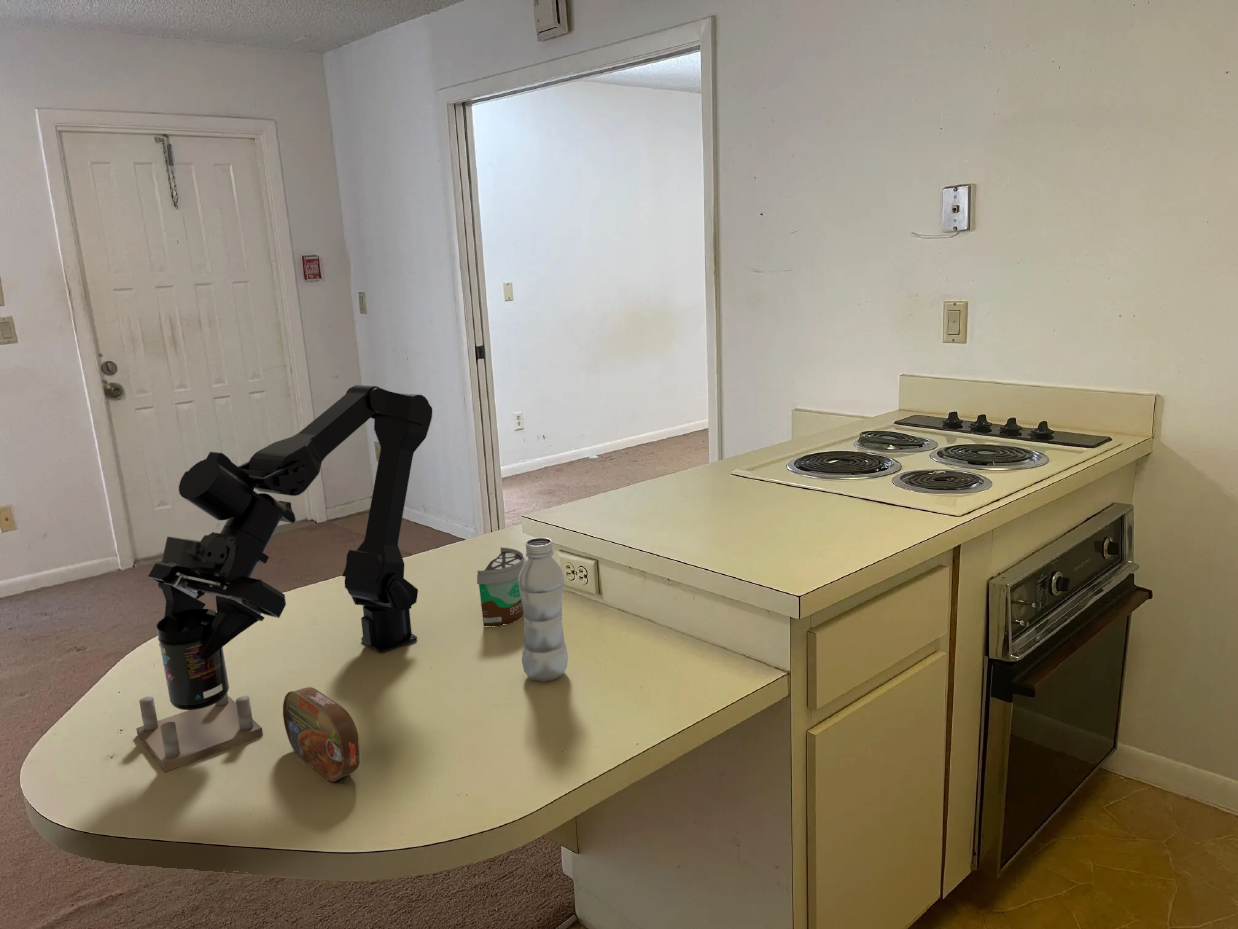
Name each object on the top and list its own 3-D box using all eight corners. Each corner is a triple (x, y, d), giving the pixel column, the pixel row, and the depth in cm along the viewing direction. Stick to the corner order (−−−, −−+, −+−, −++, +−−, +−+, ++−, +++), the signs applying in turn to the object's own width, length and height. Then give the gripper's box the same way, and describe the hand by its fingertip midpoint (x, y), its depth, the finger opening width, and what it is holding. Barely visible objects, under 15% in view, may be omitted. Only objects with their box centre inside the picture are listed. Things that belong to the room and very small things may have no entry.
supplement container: (205, 680, 114) (192, 605, 111) (242, 691, 111) (230, 613, 108) (158, 705, 108) (143, 626, 105) (195, 717, 105) (181, 636, 102)
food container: (517, 632, 141) (513, 573, 139) (480, 630, 142) (476, 571, 140) (539, 603, 153) (536, 547, 150) (505, 601, 154) (501, 546, 151)
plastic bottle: (513, 681, 125) (505, 546, 120) (539, 661, 131) (532, 532, 126) (552, 690, 122) (545, 552, 117) (577, 670, 128) (571, 537, 123)
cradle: (230, 703, 121) (225, 669, 120) (262, 734, 113) (257, 699, 112) (137, 735, 114) (131, 699, 113) (165, 772, 105) (158, 734, 104)
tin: (284, 745, 111) (276, 683, 109) (308, 735, 113) (300, 674, 111) (343, 794, 100) (335, 726, 98) (368, 782, 102) (361, 716, 100)
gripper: (149, 499, 111) (79, 614, 105) (252, 516, 103) (183, 643, 96) (212, 539, 120) (151, 648, 113) (312, 557, 111) (253, 676, 105)
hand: (182, 653), depth 107 cm, fingers closed on supplement container, 7 cm apart
